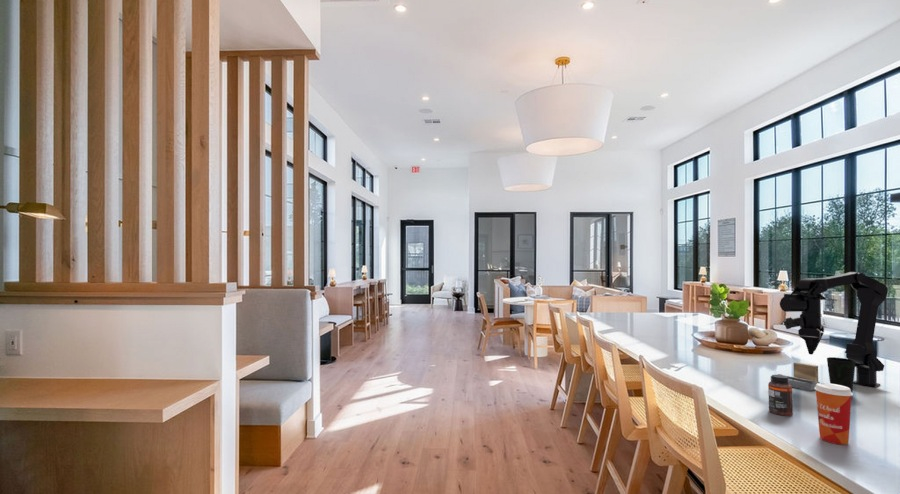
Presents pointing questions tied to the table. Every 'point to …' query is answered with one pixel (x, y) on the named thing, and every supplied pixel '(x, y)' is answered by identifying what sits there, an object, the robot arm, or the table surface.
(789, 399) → the supplement bottle
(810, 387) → the track
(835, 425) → the paper cup
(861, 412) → the table surface
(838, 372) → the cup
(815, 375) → the oak panel
